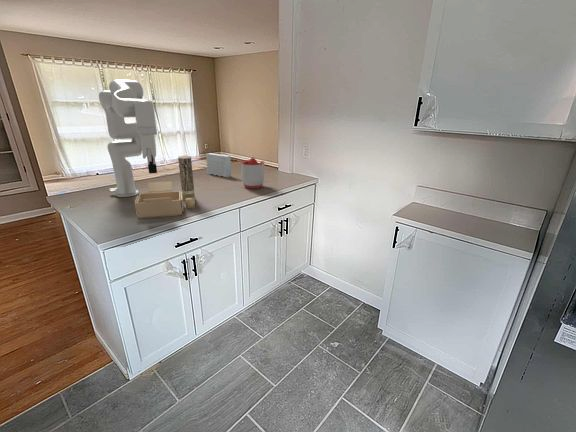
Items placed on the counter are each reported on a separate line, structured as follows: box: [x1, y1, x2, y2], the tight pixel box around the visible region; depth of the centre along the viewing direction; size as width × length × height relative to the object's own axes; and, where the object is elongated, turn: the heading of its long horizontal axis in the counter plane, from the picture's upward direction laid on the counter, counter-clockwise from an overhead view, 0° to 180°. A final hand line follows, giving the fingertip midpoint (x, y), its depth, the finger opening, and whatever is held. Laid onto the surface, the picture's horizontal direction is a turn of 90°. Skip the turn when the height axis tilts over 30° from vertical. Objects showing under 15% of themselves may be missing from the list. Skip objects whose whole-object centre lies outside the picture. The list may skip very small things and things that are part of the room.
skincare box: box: [205, 152, 232, 178], centre depth 226 cm, size 21×5×16 cm, turn 58°
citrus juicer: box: [240, 157, 265, 190], centre depth 198 cm, size 16×17×20 cm
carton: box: [134, 190, 184, 220], centre depth 152 cm, size 22×16×8 cm
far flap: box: [147, 180, 173, 193], centre depth 159 cm, size 12×1×6 cm
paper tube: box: [177, 155, 196, 201], centre depth 168 cm, size 7×7×25 cm
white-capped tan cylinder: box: [184, 197, 196, 210], centre depth 159 cm, size 5×5×5 cm
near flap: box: [143, 197, 172, 203], centre depth 139 cm, size 12×1×6 cm
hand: (153, 172), depth 133 cm, fingers closed
